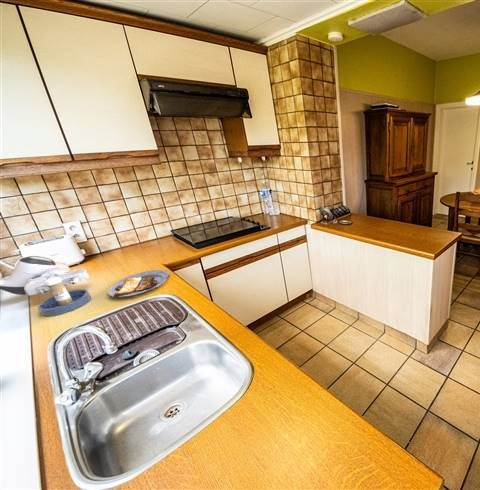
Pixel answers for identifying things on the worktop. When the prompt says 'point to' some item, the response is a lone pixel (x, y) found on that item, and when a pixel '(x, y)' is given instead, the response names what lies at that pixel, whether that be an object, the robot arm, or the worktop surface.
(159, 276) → the food plate
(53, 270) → the robot arm
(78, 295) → the bowl
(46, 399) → the worktop surface
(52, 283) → the sprinkles bottle
